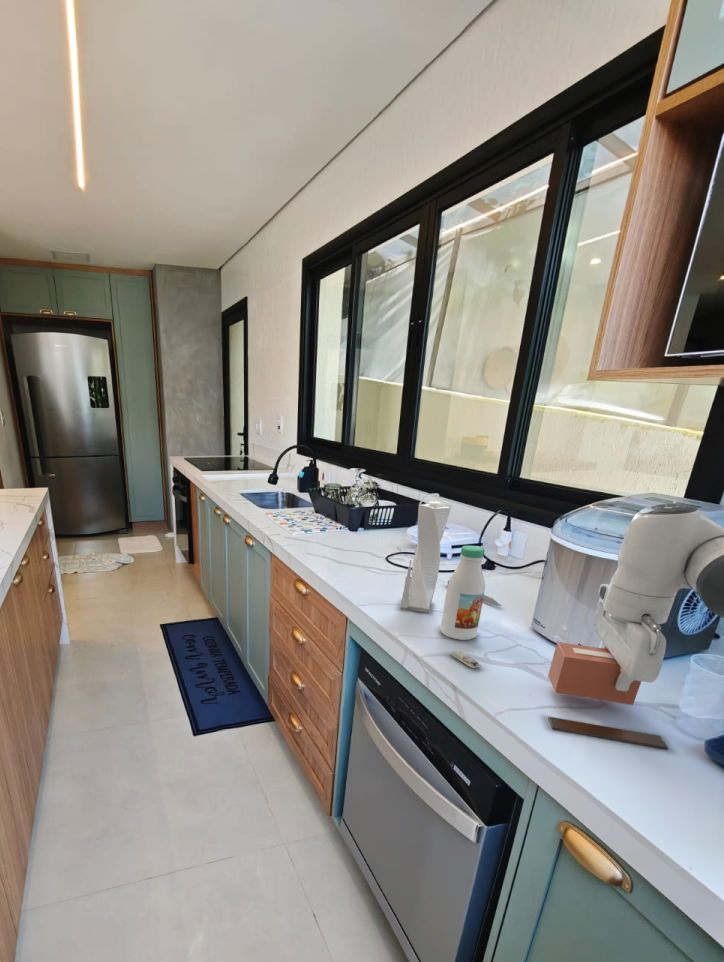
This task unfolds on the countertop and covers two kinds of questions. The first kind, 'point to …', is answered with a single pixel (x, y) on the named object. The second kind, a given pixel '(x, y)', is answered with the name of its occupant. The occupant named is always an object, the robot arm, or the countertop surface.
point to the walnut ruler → (607, 732)
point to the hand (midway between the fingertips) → (612, 678)
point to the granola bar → (465, 659)
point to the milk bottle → (464, 596)
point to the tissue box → (588, 674)
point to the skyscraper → (425, 556)
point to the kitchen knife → (489, 600)
